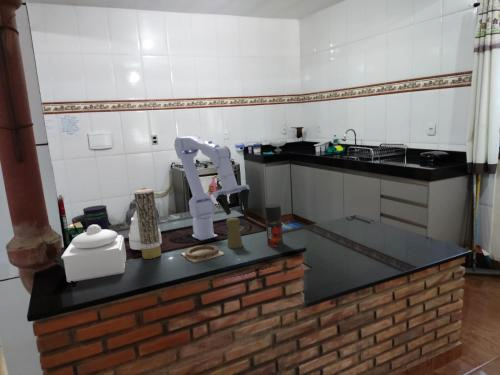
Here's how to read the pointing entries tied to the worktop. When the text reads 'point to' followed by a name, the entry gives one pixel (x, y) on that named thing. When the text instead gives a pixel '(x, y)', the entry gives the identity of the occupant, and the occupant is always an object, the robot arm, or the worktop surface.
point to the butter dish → (94, 254)
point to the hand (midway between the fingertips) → (238, 212)
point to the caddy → (202, 253)
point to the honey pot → (137, 234)
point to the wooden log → (147, 223)
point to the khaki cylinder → (234, 233)
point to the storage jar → (96, 216)
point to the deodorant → (274, 225)
